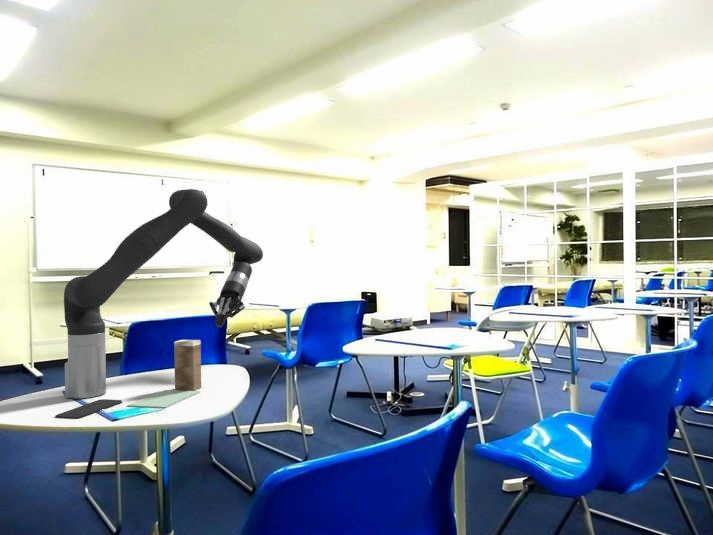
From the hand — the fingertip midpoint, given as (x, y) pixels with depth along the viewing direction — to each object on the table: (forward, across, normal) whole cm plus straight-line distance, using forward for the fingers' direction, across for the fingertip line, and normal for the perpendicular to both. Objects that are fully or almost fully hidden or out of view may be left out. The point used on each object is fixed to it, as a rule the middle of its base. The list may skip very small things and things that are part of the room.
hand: (218, 325), depth 158 cm
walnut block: (+24, 0, -1) cm, 25 cm away
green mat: (+32, 0, -9) cm, 34 cm away
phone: (+41, -13, -17) cm, 46 cm away
